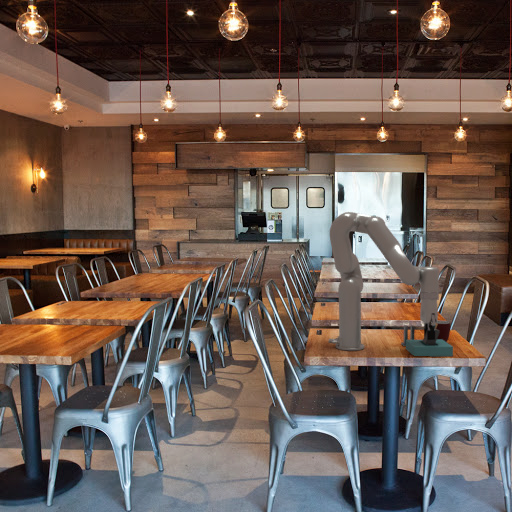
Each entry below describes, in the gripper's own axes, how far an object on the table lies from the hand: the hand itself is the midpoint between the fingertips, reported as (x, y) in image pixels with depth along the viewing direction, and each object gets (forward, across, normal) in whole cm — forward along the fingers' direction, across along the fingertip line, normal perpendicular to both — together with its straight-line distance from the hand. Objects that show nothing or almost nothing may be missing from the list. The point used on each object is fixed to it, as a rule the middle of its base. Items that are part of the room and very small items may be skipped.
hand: (429, 338), depth 247 cm
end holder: (+6, 0, 0) cm, 6 cm away
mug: (+6, -16, +9) cm, 19 cm away
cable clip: (+6, -13, -5) cm, 15 cm away
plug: (+2, 0, -1) cm, 3 cm away
